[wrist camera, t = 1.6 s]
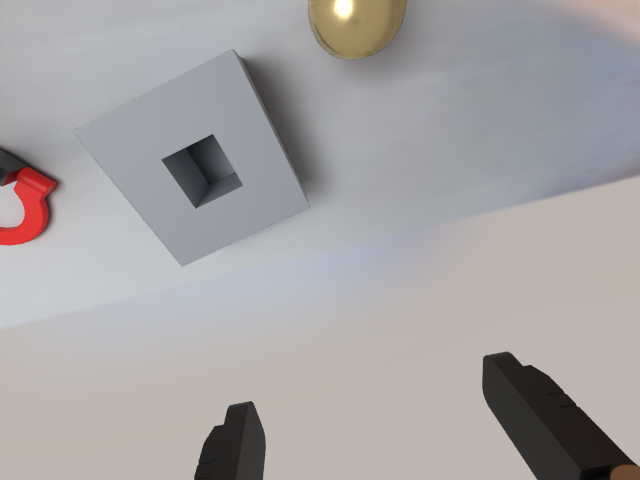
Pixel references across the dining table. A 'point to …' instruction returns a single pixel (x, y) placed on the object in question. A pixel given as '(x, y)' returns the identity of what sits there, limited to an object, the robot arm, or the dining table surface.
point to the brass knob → (355, 25)
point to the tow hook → (25, 199)
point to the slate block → (181, 170)
